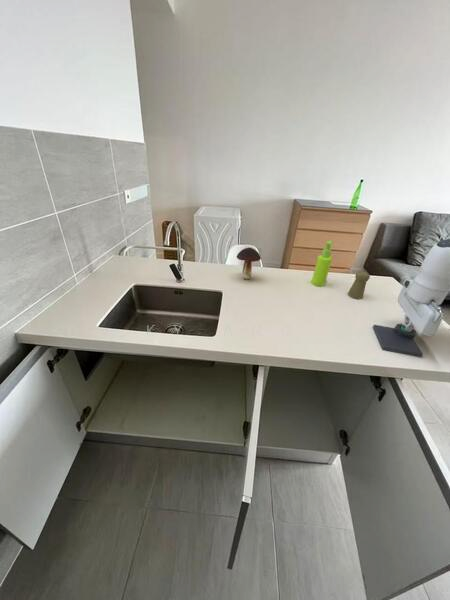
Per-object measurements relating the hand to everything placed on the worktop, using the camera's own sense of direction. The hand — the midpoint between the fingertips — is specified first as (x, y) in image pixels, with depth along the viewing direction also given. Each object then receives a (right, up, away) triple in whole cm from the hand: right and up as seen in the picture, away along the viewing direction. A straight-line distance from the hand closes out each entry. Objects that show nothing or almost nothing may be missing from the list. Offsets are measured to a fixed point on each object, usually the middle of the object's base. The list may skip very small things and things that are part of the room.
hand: (406, 328), depth 81 cm
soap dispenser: (-17, +17, +33) cm, 41 cm away
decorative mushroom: (-50, +20, +34) cm, 64 cm away
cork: (-4, +11, +25) cm, 27 cm away
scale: (-4, -4, -1) cm, 6 cm away
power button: (0, -1, +1) cm, 2 cm away
